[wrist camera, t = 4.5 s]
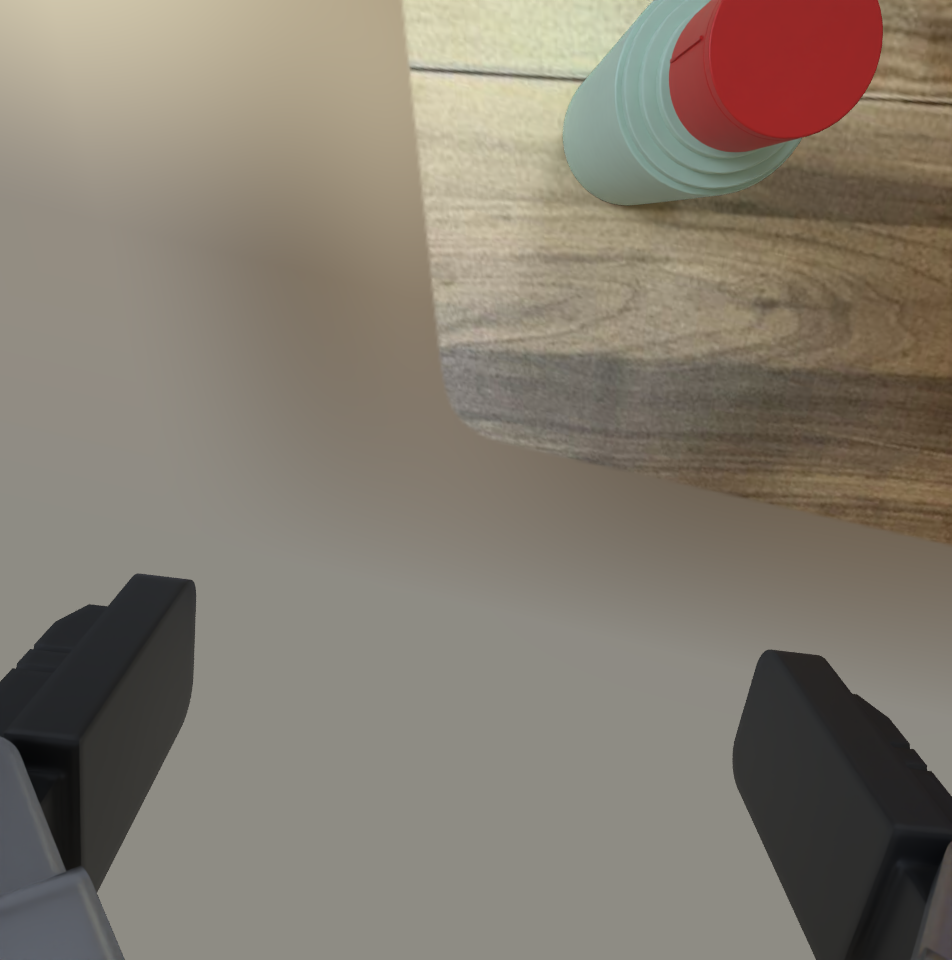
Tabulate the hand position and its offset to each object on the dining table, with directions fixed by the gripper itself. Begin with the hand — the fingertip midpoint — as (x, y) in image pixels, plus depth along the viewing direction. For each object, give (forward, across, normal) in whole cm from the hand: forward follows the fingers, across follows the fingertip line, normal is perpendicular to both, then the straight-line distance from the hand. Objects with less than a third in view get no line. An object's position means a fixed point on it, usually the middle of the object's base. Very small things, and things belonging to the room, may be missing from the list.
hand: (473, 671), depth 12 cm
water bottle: (+29, -6, -9) cm, 31 cm away
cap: (+14, -6, -10) cm, 18 cm away
